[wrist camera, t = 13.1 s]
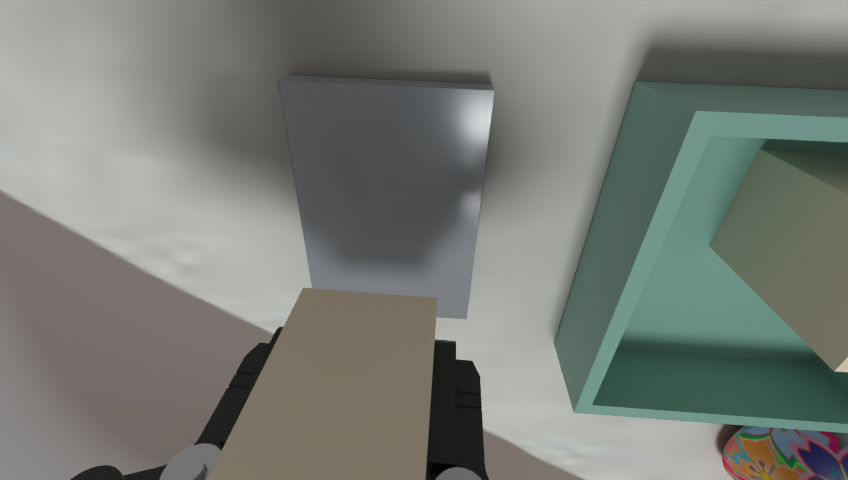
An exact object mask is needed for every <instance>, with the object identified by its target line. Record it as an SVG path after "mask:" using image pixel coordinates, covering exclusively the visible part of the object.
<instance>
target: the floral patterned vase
mask: <svg viewBox="0 0 848 480" xmlns="http://www.w3.org/2000/svg"><path fill="white" fill-rule="evenodd" d="M722 461H723V465H724V468H725V470H726V471H727V473H728V474H729V475H730V476H731V477H732V478H733V479H734V480H848V433H839V432H825V431H812V430H799V429H785V428H772V427H759V426H744V427H742V428H741V429H740V430H738V431H737V432H736V433H735V434H734V435H733V436H732V437H731V438H730V440H729V441H728V442H727V444H726V446H725V448H724V451H723V456H722Z"/></svg>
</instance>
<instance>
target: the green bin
mask: <svg viewBox="0 0 848 480" xmlns="http://www.w3.org/2000/svg"><path fill="white" fill-rule="evenodd" d="M760 149H769V150H789V151H809V152H829V153H848V90H830V89H807V88H784V87H762V86H739V85H716V84H693V83H671V82H648V81H635V84H634V87H633V91H632V94H631V97H630V100H629V104H628V107H627V110H626V113H625V117H624V120H623V123H622V126H621V129H620V133H619V136H618V139H617V142H616V146H615V149H614V152H613V155H612V159H611V162H610V165H609V168H608V172H607V175H606V178H605V181H604V185H603V188H602V191H601V194H600V198H599V201H598V204H597V207H596V210H595V214H594V217H593V220H592V223H591V227H590V230H589V233H588V236H587V240H586V243H585V246H584V249H583V253H582V256H581V259H580V262H579V266H578V269H577V272H576V275H575V279H574V282H573V285H572V288H571V292H570V295H569V298H568V301H567V304H566V308H565V311H564V314H563V317H562V321H561V324H560V327H559V330H558V334H557V337H556V340H555V343H554V345H555V349H556V352H557V356H558V359H559V363H560V366H561V370H562V373H563V377H564V380H565V383H566V387H567V390H568V394H569V397H570V401H571V404H572V408H573V411H574V413H586V414H599V415H612V416H626V417H639V418H652V419H666V420H679V421H692V422H706V423H719V424H732V425H745V426H759V427H772V428H785V429H799V430H812V431H825V432H839V433H848V372H835V371H833V370H832V369H831V368H830V367H829V366H828V365H827V364H826V363H825V362H824V361H823V360H822V359H821V358H820V357H819V356H818V355H817V354H816V353H815V352H814V351H813V350H812V349H811V348H810V347H809V346H808V345H807V344H806V343H805V342H804V341H803V340H802V339H801V338H800V337H799V336H798V335H797V334H796V333H795V332H794V331H793V330H792V329H791V328H790V327H789V326H788V325H787V324H786V323H785V322H784V321H783V320H782V319H781V318H780V317H779V316H778V315H777V314H776V313H775V312H774V311H773V310H772V309H771V308H770V307H769V306H768V305H767V304H766V303H765V302H764V301H763V300H762V299H761V298H760V297H759V296H758V295H757V294H756V293H755V292H754V291H753V290H752V289H751V288H750V287H749V286H748V285H747V284H746V283H745V282H744V281H743V280H742V279H741V278H740V277H739V276H738V275H737V274H736V273H735V272H734V271H733V270H732V269H731V268H730V267H729V266H728V265H727V264H726V263H725V262H724V261H723V260H722V259H721V258H720V257H719V256H718V255H717V254H716V253H715V252H714V251H713V250H712V249H711V248H710V247H709V246H710V244H711V242H712V240H713V238H714V236H715V234H716V232H717V230H718V228H719V226H720V224H721V223H722V221H723V219H724V217H725V215H726V213H727V211H728V209H729V207H730V205H731V203H732V201H733V200H734V198H735V196H736V194H737V192H738V190H739V188H740V186H741V184H742V182H743V180H744V178H745V176H746V175H747V173H748V171H749V169H750V167H751V165H752V163H753V161H754V159H755V157H756V155H757V153H758V151H759V150H760Z"/></svg>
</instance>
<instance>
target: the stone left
mask: <svg viewBox="0 0 848 480" xmlns="http://www.w3.org/2000/svg"><path fill="white" fill-rule="evenodd" d="M436 312H437V298H431V297H418V296H405V295H392V294H379V293H366V292H353V291H340V290H327V289H314V288H303V289H302V291H301V293H300V295H299V297H298V299H297V301H296V303H295V305H294V307H293V309H292V311H291V313H290V315H289V317H288V319H287V321H286V323H285V325H284V327H283V329H282V331H281V333H280V335H279V337H278V339H277V341H276V343H275V345H274V347H273V349H272V351H271V353H270V355H269V357H268V359H267V361H266V363H265V365H264V367H263V369H262V371H261V373H260V375H259V377H258V379H257V381H256V383H255V385H254V387H253V389H252V391H251V393H250V395H249V397H248V399H247V401H246V403H245V405H244V407H243V409H242V411H241V413H240V415H239V417H238V419H237V421H236V423H235V425H234V427H233V429H232V431H231V433H230V435H229V437H228V439H227V441H226V443H225V445H224V447H223V449H222V451H221V453H220V455H219V457H218V459H217V461H216V463H215V465H214V467H213V469H212V471H211V473H210V475H209V477H208V479H207V480H425V479H426V464H427V449H428V434H429V419H430V403H431V388H432V373H433V358H434V343H435V327H436Z"/></svg>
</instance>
